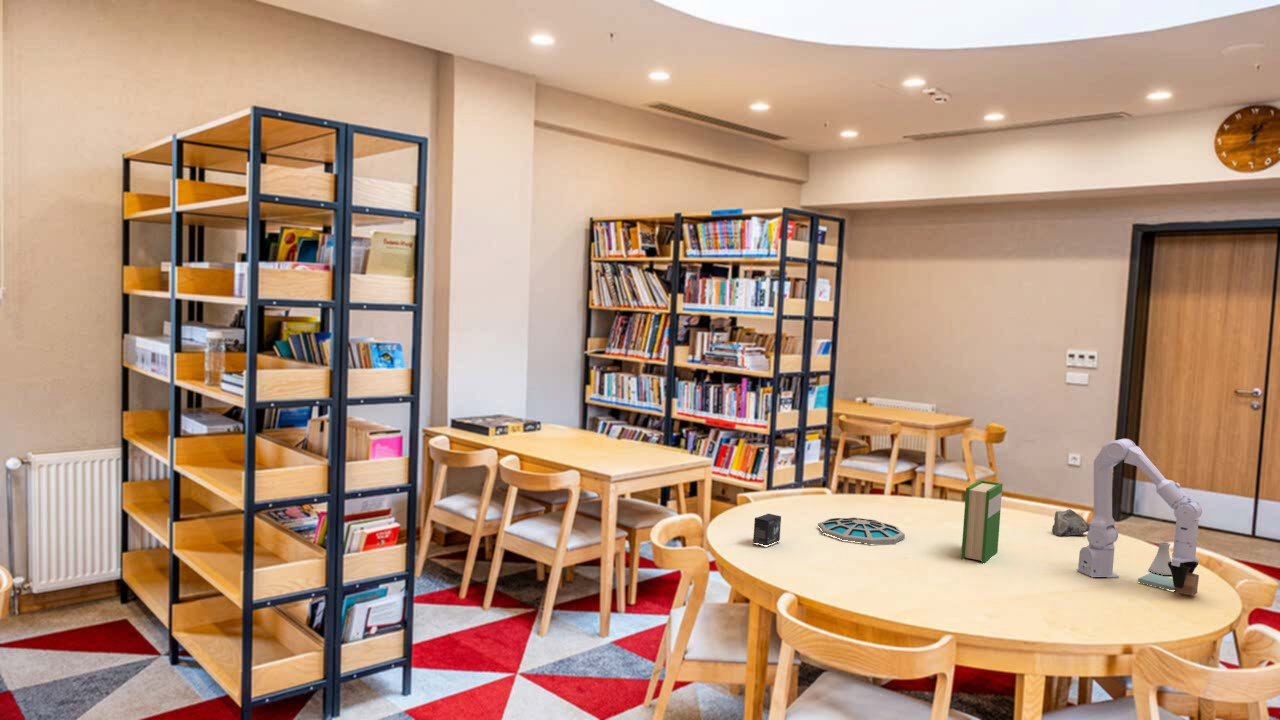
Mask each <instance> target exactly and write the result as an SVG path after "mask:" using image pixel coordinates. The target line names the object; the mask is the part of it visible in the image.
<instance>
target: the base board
mask: <svg viewBox="0 0 1280 720" xmlns="http://www.w3.org/2000/svg"><path fill="white" fill-rule="evenodd" d="M1138 582H1140V583H1144V584H1148V585H1152V586H1156V587H1161V588H1164V589H1169V590H1175V587H1174V584H1173V578H1172V577H1170V576H1163V575H1159V574H1155V573H1152V572H1150V573H1149V572H1148V573H1147V574H1144V575H1143V576H1141V577H1139V578H1137V583H1138Z"/></svg>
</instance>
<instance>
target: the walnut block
mask: <svg viewBox="0 0 1280 720" xmlns="http://www.w3.org/2000/svg"><path fill="white" fill-rule="evenodd" d="M1199 577H1200V575H1199V574H1197V573H1194V572H1193V573H1189V572H1188V573H1187V575H1186V578H1185V582H1184V585H1183V588H1178V587H1175V591H1176V592H1175V593H1180V594H1184V595H1188V596H1192V597H1193V596H1194V595H1196V594H1198V587H1199Z"/></svg>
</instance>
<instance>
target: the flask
mask: <svg viewBox="0 0 1280 720" xmlns="http://www.w3.org/2000/svg"><path fill="white" fill-rule="evenodd" d="M1157 544H1158V549H1157V553H1156V555H1155V557H1154V559H1153V561H1152V563H1151V564H1150V566H1149V568H1148V569H1147V570H1148V571H1149V572H1150V571H1151V572H1150V573H1152V572H1153V573H1152V574H1155V573H1157V574H1156V575H1159V574H1161V576H1163V575H1172V573H1171V570H1170V568H1169V566H1168V562H1172V558H1171V557H1170V546H1171V543H1170V542H1165V541H1158V542H1157Z"/></svg>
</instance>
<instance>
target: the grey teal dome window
mask: <svg viewBox="0 0 1280 720" xmlns="http://www.w3.org/2000/svg"><path fill="white" fill-rule="evenodd" d="M818 526H819V527H820V528H821V529H822V531H823V533H826V534H829V535H832V536H835V537H837V538H840V539H842V540H848V541H855V542H861V543H867V544H881V545H896V544H897V543H899V542H900V541H902V539H903V540H905V539H906V535H905V534H906V533H904V532H903V531H901V530H900V528H899V527H898V526H895V525H892V524H888V523H886V522H881V521H877V520H876V519H871V518H870V519H869V518H860V517H855V516H853V517H835V518H832V517H831V518H828V519H827V520H824V521H821V522H818V523H817V527H818ZM895 543H896V544H895Z"/></svg>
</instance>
